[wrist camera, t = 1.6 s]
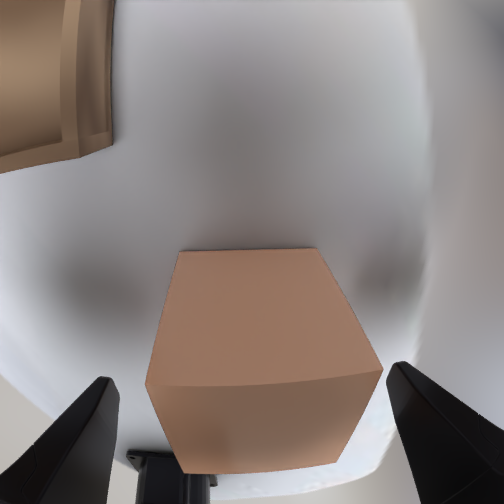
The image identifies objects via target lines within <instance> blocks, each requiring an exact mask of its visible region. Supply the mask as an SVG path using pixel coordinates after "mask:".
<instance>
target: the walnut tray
mask: <svg viewBox="0 0 504 504" xmlns="http://www.w3.org/2000/svg"><path fill="white" fill-rule="evenodd" d="M113 8H114V0H0V174H1V173H6V172H10V171H14V170H18V169H23V168H28V167H32V166H37V165H42V164H47V163H53V162H58V161H64V160H70V159H76V158H81V157H83V156H86V155H88V154H91V153H93V152H96V151H98V150H101V149H104V148H106V147H109V146H112V145H113V140H112V123H111V95H110V63H111V36H112V20H113Z"/></svg>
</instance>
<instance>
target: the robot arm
mask: <svg viewBox="0 0 504 504" xmlns="http://www.w3.org/2000/svg"><path fill="white" fill-rule="evenodd" d="M386 386H387V390H388V394H389V398H390V402H391V406H392V411H393V415H394V419H395V423H396V426H397V429H398V432H399V434H400V437H401V440H402V443H403V446H404V449H405V452H406V455H407V458H408V461H409V465H410V468H411V471H412V474H413V478H414V481H415V484H416V488H417V491H418V494H419V498H420V502H421V504H504V430H502V429H501V428H499V427H497V426H496V425H494V424H493V423H491V422H490V421H488V420H487V419H485V418H484V417H483V416H481V415H480V414H479V415H478V413H477V412H476V411H474V410H473V409H471V408H470V407H469V406H467V405H466V404H464V403H463V402H461V401H460V400H459V399H458V398H456V397H454V396H453V395H452V394H451V393H449V392H448V391H446V390H445V389H443V388H442V387H441V386H439V385H438V384H437V383H435V382H434V381H433V380H431V379H430V378H428V377H427V376H426V375H424V374H423V373H421V372H420V371H419V370H417V369H416V368H414V367H413V366H412V365H410V364H409V363H408V362H406V361H400V362H396V363H394V364H393V365H392V367H391V370H390V372H389V374H388V376H387V379H386ZM119 401H120V396H119V392H118V390H117V388H116V386H115V384H114V381H113V380H112V378H110V377H103V376H100V377H98V378H97V379H96V380H95V381H94V382H93V383H92V384H91V385H90V386H89V387H88V388H87V389H86V390H85V391H84V392H83V393H82V394H81V395H80V396H79V397H78V398H77V399H76V400H75V401H74V402H73V403H72V404H71V405H70V406H69V407H68V408H67V409H66V410H65V411H64V412H63V413H62V414H61V415H60V416H59V418H58V419H57V420H56V421H55V422H54V423H53V424H52V425H51V426H50V427H49V428H48V429H47V430H46V431H45V432H44V433H43V434H42V435H41V436H40V437H39V438H38V439H37V440H36V441H35V442H34V445H32V446H31V447H30V448H29V449H28V450H27V451H26V452H25V453H24V454H23V455H22V456H21V457H20V458H19V459H18V460H17V461H15V462H14V463H13V464H12V465H11V466H10V467H9V468H8V469H6V470H5V471H4V472H3V473H1V474H0V504H106V503H107V495H108V488H109V481H110V474H111V468H112V462H113V456H114V450H115V445H116V438H117V425H118V412H119ZM126 457H127V459H128V460H129V461H130V462H131V464H132V465H133V466H134V468H135V469H136V470H137V471H138V472H139V476H138V484H137V493H136V502H135V504H210V487H215V486H217V478H216V475H215V474H190V473H184V472H183V470H182V468H181V466H180V464H179V462H178V460H177V458H176V456H175V455H165V454H154V453H144V452H135V451H127V454H126Z"/></svg>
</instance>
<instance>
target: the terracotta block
mask: <svg viewBox="0 0 504 504" xmlns="http://www.w3.org/2000/svg"><path fill="white" fill-rule="evenodd" d="M382 372H383V367H382V365H381V363H380V361H379V359H378V357H377V355H376V353H375V352H374V350H373V348H372V346H371V344H370V342H369V340H368V338H367V336H366V334H365V333H364V331H363V329H362V327H361V325H360V323H359V321H358V320H357V318H356V316H355V314H354V312H353V310H352V309H351V307H350V305H349V303H348V301H347V300H346V298H345V296H344V294H343V292H342V291H341V289H340V287H339V285H338V284H337V282H336V280H335V278H334V277H333V275H332V273H331V271H330V270H329V268H328V266H327V264H326V263H325V261H324V259H323V258H322V256H321V254H320V253H319V251H318V249H317V248H302V249H262V250H223V251H184V252H179V255H178V259H177V262H176V265H175V269H174V272H173V276H172V279H171V283H170V286H169V290H168V293H167V297H166V301H165V304H164V308H163V312H162V315H161V319H160V323H159V327H158V331H157V335H156V339H155V343H154V347H153V351H152V355H151V359H150V363H149V368H148V372H147V377H146V381H145V386H146V389H147V392H148V394H149V397H150V399H151V402H152V404H153V407H154V409H155V412H156V414H157V417H158V419H159V421H160V424H161V426H162V428H163V430H164V433H165V435H166V437H167V439H168V441H169V444H170V446H171V448H172V450H173V452H174V454H175V456H176V458H177V460H178V462H179V464H180V466H181V468H182V470H183V472H184V473H190V474H243V473H260V472H273V471H283V470H292V469H299V468H306V467H313V466H319V465H325V464H330V463H336V462H337V460H338V458H339V457H340V455H341V453H342V451H343V450H344V448H345V446H346V444H347V443H348V441H349V439H350V437H351V436H352V434H353V432H354V430H355V428H356V426H357V424H358V422H359V420H360V419H361V417H362V415H363V413H364V411H365V409H366V407H367V405H368V402H369V400H370V398H371V396H372V394H373V392H374V390H375V388H376V385H377V383H378V381H379V379H380V376H381V374H382Z"/></svg>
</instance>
